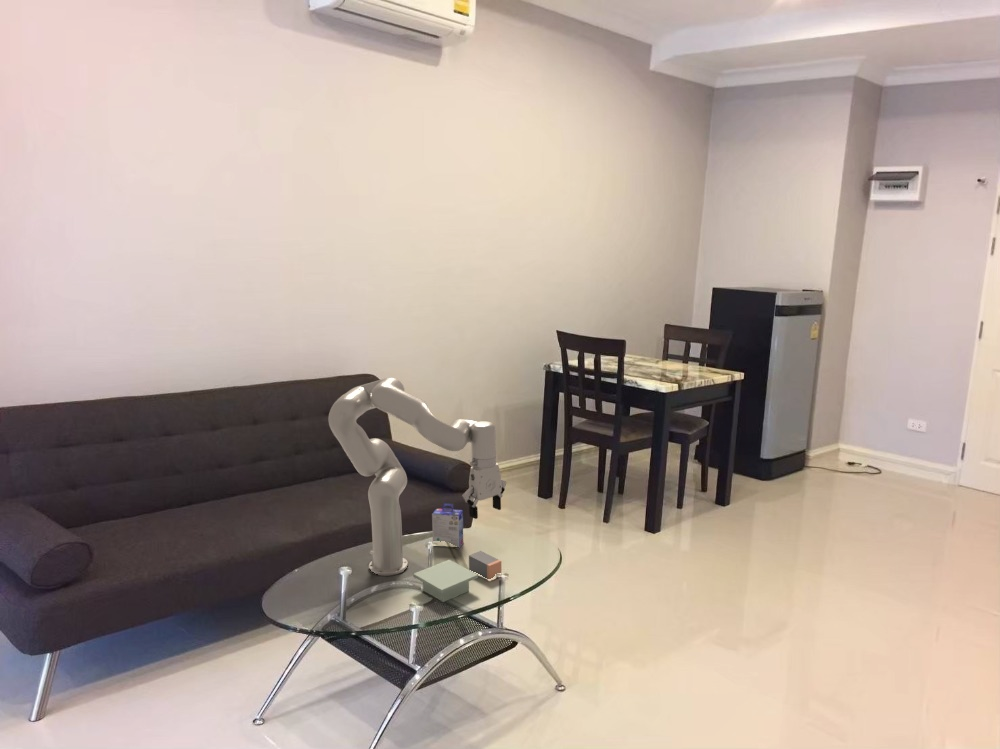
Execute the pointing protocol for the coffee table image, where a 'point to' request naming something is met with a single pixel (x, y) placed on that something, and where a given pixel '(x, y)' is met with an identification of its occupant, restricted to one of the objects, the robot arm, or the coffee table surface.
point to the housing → (484, 564)
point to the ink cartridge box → (448, 525)
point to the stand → (445, 580)
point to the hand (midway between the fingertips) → (485, 513)
